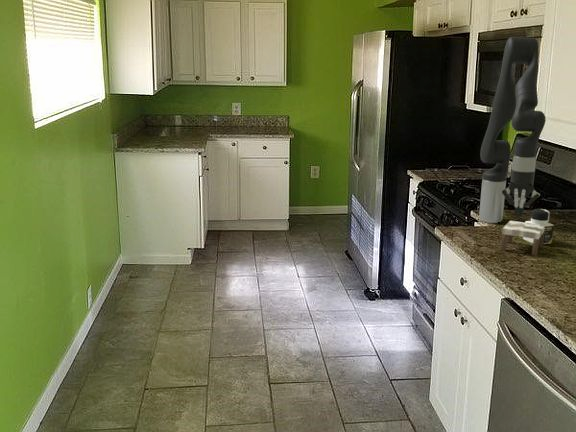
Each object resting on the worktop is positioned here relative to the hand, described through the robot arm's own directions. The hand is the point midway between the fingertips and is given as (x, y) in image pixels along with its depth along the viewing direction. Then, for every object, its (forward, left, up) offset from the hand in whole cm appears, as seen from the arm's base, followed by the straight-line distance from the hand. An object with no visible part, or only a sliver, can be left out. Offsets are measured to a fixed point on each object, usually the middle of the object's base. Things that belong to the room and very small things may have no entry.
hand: (518, 217), depth 215 cm
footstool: (0, -4, -7) cm, 8 cm away
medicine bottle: (-12, +5, -11) cm, 17 cm away
